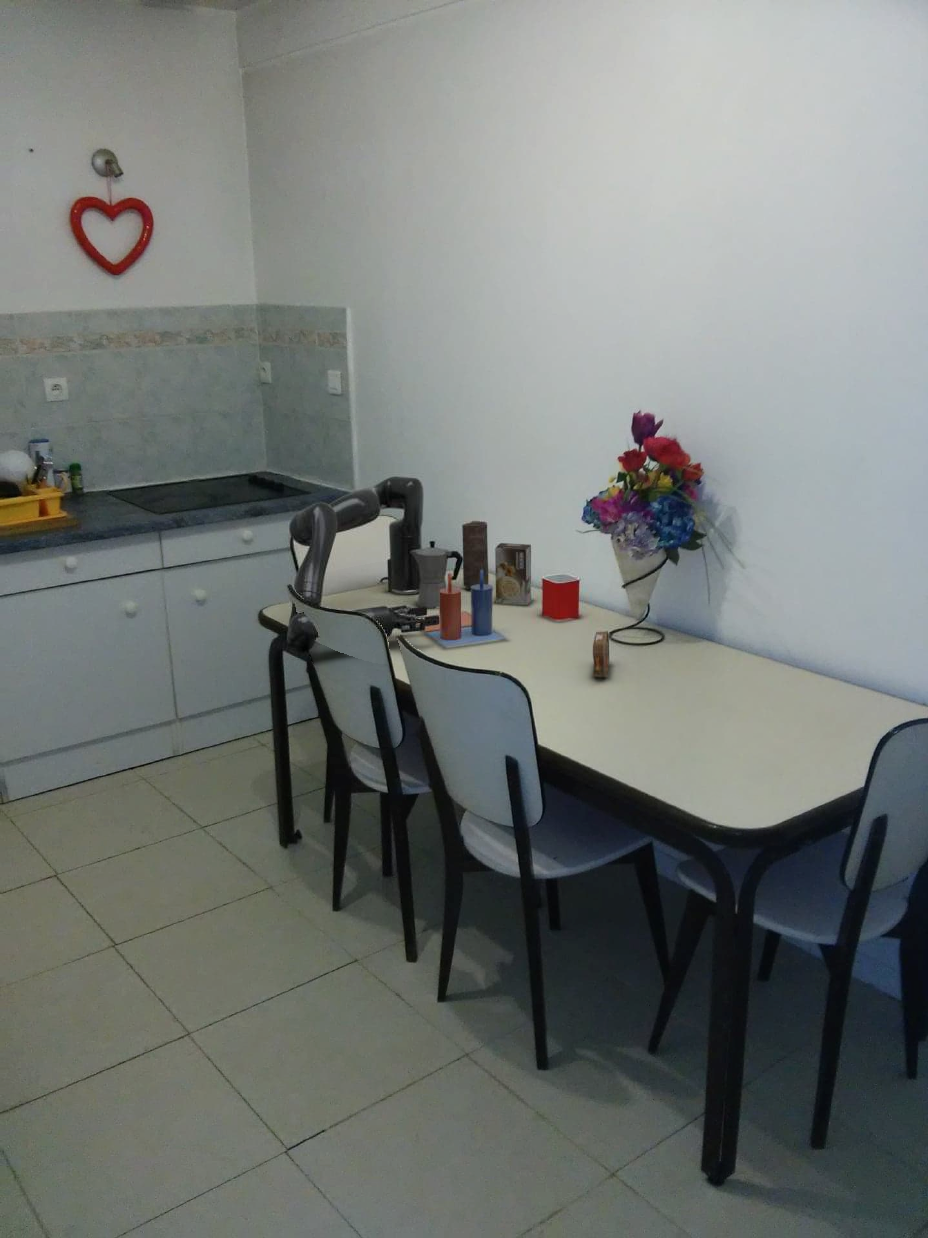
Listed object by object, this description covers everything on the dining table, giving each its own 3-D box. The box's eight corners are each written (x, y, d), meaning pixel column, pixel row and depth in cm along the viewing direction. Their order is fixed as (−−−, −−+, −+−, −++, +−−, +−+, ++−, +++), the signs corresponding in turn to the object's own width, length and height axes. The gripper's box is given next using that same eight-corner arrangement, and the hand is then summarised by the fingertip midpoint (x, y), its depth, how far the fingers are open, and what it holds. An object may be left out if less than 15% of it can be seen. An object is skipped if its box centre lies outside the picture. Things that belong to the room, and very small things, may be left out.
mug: (582, 617, 283) (583, 579, 280) (557, 622, 279) (557, 583, 276) (555, 607, 293) (555, 569, 290) (530, 612, 288) (530, 573, 285)
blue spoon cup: (467, 634, 268) (467, 571, 263) (475, 628, 273) (475, 566, 268) (487, 637, 266) (487, 573, 261) (495, 630, 271) (495, 568, 266)
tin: (605, 683, 235) (606, 647, 233) (590, 682, 236) (591, 646, 234) (609, 660, 250) (611, 626, 247) (596, 660, 250) (597, 625, 248)
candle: (470, 593, 307) (469, 525, 301) (458, 587, 313) (457, 520, 307) (493, 590, 310) (493, 522, 305) (480, 584, 317) (480, 518, 311)
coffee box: (532, 599, 300) (532, 544, 295) (526, 606, 294) (527, 549, 289) (500, 597, 302) (500, 542, 298) (494, 603, 297) (494, 547, 292)
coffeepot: (404, 606, 295) (403, 542, 289) (417, 597, 303) (416, 535, 298) (457, 611, 290) (456, 546, 284) (468, 602, 298) (468, 539, 293)
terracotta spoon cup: (436, 639, 265) (435, 574, 260) (445, 632, 270) (444, 569, 265) (456, 641, 263) (455, 576, 258) (464, 635, 268) (464, 571, 263)
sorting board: (445, 649, 259) (445, 646, 259) (409, 620, 282) (408, 617, 282) (505, 640, 265) (505, 637, 265) (464, 613, 288) (464, 610, 288)
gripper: (378, 616, 249) (443, 608, 255) (360, 601, 262) (422, 593, 268) (379, 646, 252) (443, 637, 258) (361, 630, 264) (422, 621, 270)
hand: (432, 615), depth 263 cm, fingers open, 8 cm apart
